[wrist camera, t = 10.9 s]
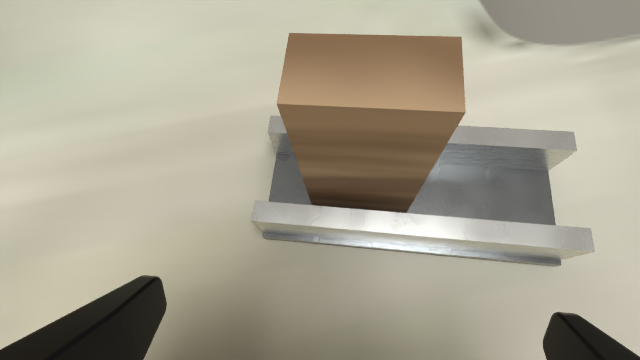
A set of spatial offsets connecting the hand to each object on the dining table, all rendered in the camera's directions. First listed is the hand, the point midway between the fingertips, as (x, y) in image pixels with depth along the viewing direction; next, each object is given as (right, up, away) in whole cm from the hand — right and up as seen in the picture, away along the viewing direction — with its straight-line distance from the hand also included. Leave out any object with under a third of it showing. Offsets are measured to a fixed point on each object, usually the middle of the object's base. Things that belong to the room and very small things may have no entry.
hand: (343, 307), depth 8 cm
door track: (+5, +2, +15) cm, 16 cm away
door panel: (+2, +2, +15) cm, 15 cm away
